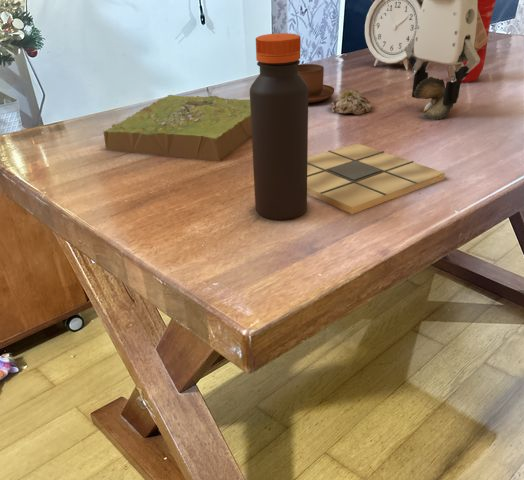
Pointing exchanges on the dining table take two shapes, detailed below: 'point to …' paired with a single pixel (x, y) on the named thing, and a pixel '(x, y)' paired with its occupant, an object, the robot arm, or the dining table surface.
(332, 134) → the dining table surface
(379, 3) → the alarm clock
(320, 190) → the board
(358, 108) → the mineral rock
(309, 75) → the cup and saucer
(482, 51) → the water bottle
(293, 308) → the dining table surface
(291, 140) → the vinegar
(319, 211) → the dining table surface
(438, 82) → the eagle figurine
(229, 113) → the miniature landscape model
